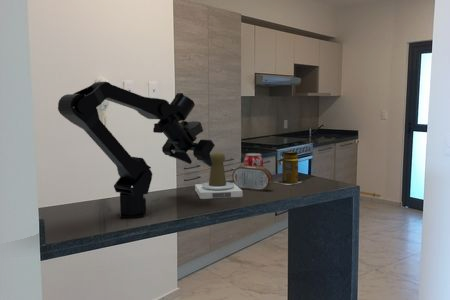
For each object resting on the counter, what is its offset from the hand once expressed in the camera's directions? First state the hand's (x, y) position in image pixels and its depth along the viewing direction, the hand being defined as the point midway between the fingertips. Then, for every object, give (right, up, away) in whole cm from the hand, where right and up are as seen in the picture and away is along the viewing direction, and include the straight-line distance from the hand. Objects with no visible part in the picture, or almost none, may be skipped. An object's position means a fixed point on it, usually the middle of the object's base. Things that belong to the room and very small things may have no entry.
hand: (200, 164), depth 133 cm
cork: (+5, -7, +7) cm, 12 cm away
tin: (+17, -10, +14) cm, 24 cm away
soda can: (+18, -9, +19) cm, 28 cm away
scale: (+5, -10, +7) cm, 14 cm away
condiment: (+32, -8, +26) cm, 42 cm away
